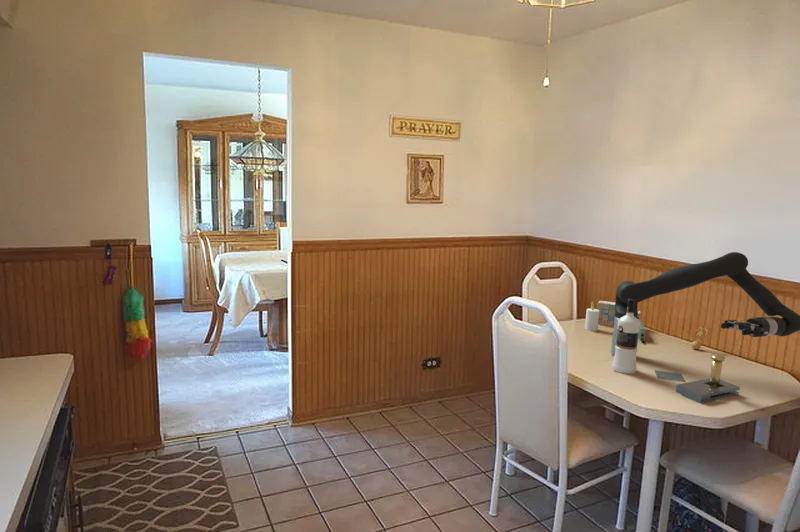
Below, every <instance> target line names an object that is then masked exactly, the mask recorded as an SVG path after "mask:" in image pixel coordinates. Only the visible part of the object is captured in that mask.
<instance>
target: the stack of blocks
mask: <svg viewBox="0 0 800 532" xmlns="http://www.w3.org/2000/svg"><path fill="white" fill-rule="evenodd" d="M615 302H616V301H615ZM615 302H613V301H605V300H604V301H603V300H599V301H598V302H597V307H596V309H597V310H599V321H598V325H599V324H600V326H606V327H611V326H612V327H613V328H614V321H615ZM641 313H642V312H641V311H640V310H638V319H639V320H641ZM612 327H611V328H612Z"/></svg>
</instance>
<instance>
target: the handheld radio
mask: <svg viewBox="0 0 800 532" xmlns="http://www.w3.org/2000/svg"><path fill="white" fill-rule="evenodd" d="M638 320H639V319H638ZM639 321H640V329H639V330H640V331H639V336H638V341H639V340H640V341H639V342H641V343H642V344H645V343H646V334H647V333H646V332H647V331H646V327H645V325H644V323H643V321H642V319H640V320H639Z"/></svg>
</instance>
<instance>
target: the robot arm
mask: <svg viewBox="0 0 800 532" xmlns="http://www.w3.org/2000/svg"><path fill="white" fill-rule="evenodd" d="M748 266H749V260H748V257H747V256H746V255H745V254H744V253H741V252H738V251H732V252H728V253H726V254H724V255H722V256H719V257H717V258H713V259H711V260H709V261H703V262H699V263H693V264H688V265H683V266H680V267H677V268H673V269H669V270H666V271H665V272H663V273H661V274H659V275H657V276H655V277H653V278H651V279H649V280H645V281H644V280H643V281H641V282H640V281H639V282H633V281H632V280H631V281H630V280H625V281H622V282H620V283H619V284H618V285H617V288H616V293H615V321H614V327H613V331H612V336H611V337H612V340H611V347H610V354H611V356H612V357H613V356H614V357H615V348H616V347H615V346H616V340H617V330H618V329H617V327H618V320H619V319H620V318H621V317H623V316H625V315H626V314H627V306H628V299H633V300H635V305H634V314H633V316H634V317H636V318H637V319H638V311H639V310H638V303H640V302H643V301H646V300H647V299H650V298H653V297H656V296H660V295H665V294H669V293H673V292H677V291H681V290H684V289H689V288H692V287H694V286H697V285H700V284H703V283H705V282H707V281H709V280H712V279H716V278H719V277H725V276H727V277H728V278H730V279H731V280H732V281H733V282H735V283H736V284H737V285H738V287H740V288H741V289H742V290H743V291H744V292H745V293H746V295H748V296H749V297H750V298H751V299H752V300H753V301H754V303H755V304H756V305H757V306H758V307H759V308H760V309H761V310H762V311H763V312H764V314H765V315H766V316H767V317H766V316H757V317H749V318H748V319H747V320H746V321H744V320H743V321H739V320H737V319H725V320H724V322H721V326H720V328H721V329H723V330H725V329H732V330H734V331H738V332H741V335H742V336H750V337H752V338H762V337H770V336H779V337H787V336H791V335H792V334H794V333H797V332H799V331H800V314H799V313H797V312H795V311H794V310H792V309H791V308H789V307H787V306H786V305H785V304H783V303H782V302H781V301H780V300H779V299H778V298H777V296H776V295H775V294H774V293H773V292H772V291H771V290H769V289H768V288H767V287H766V286H765V285H763V284H762V283H761V282H759V281H758V280H757V279H756V278H755V277H753V276H752V274H751V273H750V272H749V271H748V270H747V267H748ZM776 316H778V317H776ZM779 316H780V317H779ZM737 327H738V328H737Z"/></svg>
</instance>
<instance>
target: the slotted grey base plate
mask: <svg viewBox="0 0 800 532" xmlns="http://www.w3.org/2000/svg"><path fill="white" fill-rule="evenodd" d="M709 383H710V377H709V378H705V379H700V380H695V381H688V382H682V383H678V384H676V387H675V388H676V389H675V393H677V394H680V395H681V396H682V397H685V398H687V399H689V400H691V401H694V402H696V403H699V404H703V403H708V402H712V401H713V402H714V401H717V400H719V399H722V398H727V397H732V396H739V394H740V386H738V385H735V384H733V383H730V382H727V381H726V380H725V381H724V380H722V379H720V384H719V387H718V388H715V387H713V386H710V385H709Z"/></svg>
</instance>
